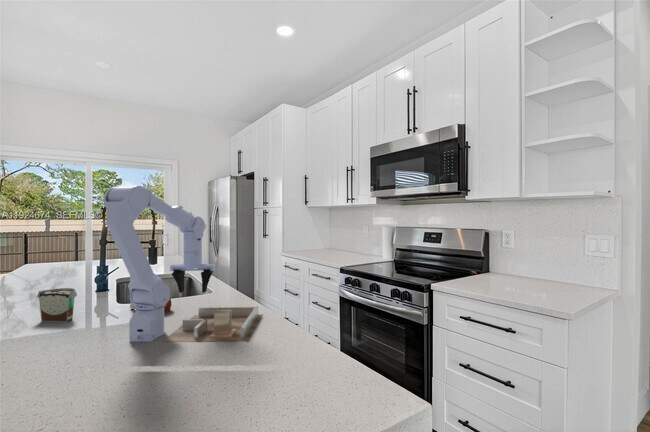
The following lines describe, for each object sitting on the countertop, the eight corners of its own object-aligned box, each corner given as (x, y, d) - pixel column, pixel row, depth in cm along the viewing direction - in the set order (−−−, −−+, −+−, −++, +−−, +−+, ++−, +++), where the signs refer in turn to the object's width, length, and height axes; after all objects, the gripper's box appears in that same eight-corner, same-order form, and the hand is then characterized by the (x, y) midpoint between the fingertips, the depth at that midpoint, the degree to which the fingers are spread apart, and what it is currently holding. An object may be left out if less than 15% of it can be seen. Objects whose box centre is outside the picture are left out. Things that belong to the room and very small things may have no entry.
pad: (230, 337, 93) (230, 336, 93) (209, 337, 93) (209, 336, 93) (236, 329, 99) (236, 328, 99) (216, 330, 99) (216, 329, 99)
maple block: (228, 334, 94) (228, 313, 94) (214, 335, 94) (214, 314, 94) (232, 330, 98) (231, 309, 98) (218, 330, 98) (218, 309, 98)
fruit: (170, 314, 113) (158, 294, 113) (150, 325, 113) (138, 306, 113) (180, 307, 121) (169, 288, 121) (162, 318, 121) (151, 300, 121)
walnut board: (248, 344, 90) (248, 341, 90) (161, 345, 90) (161, 342, 90) (263, 317, 114) (263, 314, 114) (194, 317, 114) (194, 315, 114)
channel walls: (244, 338, 92) (244, 327, 92) (172, 339, 92) (172, 328, 92) (258, 315, 113) (258, 306, 113) (199, 315, 113) (199, 307, 113)
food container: (86, 316, 115) (86, 288, 115) (71, 322, 109) (71, 292, 109) (54, 315, 116) (54, 287, 116) (37, 321, 110) (37, 291, 110)
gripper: (218, 250, 115) (218, 289, 115) (176, 250, 115) (176, 289, 115) (211, 252, 108) (211, 294, 108) (166, 253, 108) (167, 294, 108)
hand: (193, 292), depth 111 cm, fingers open, 7 cm apart
